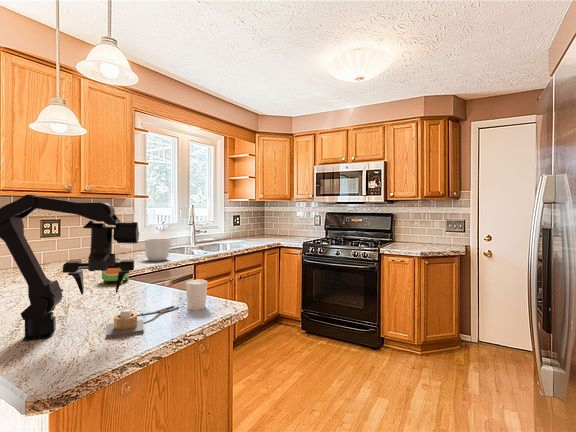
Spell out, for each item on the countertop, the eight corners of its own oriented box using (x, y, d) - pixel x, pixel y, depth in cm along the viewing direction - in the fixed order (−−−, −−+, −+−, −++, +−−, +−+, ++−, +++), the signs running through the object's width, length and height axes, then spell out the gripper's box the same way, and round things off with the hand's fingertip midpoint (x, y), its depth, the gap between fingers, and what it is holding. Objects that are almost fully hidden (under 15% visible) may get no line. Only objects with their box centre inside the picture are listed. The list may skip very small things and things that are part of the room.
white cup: (198, 311, 119) (199, 284, 119) (181, 309, 122) (181, 283, 121) (211, 305, 126) (211, 280, 126) (194, 303, 129) (194, 278, 129)
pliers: (118, 320, 107) (159, 303, 126) (118, 323, 107) (159, 306, 126) (142, 324, 104) (180, 306, 123) (142, 326, 104) (180, 308, 123)
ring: (113, 332, 96) (113, 320, 96) (114, 324, 102) (114, 314, 101) (137, 328, 99) (137, 317, 98) (137, 322, 104) (137, 311, 104)
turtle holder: (133, 276, 177) (133, 255, 177) (125, 284, 160) (125, 260, 159) (108, 277, 174) (108, 256, 174) (97, 285, 156) (97, 261, 156)
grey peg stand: (106, 338, 93) (106, 318, 93) (108, 326, 103) (108, 308, 102) (143, 333, 98) (143, 313, 98) (143, 322, 107) (143, 304, 107)
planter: (174, 260, 233) (174, 239, 233) (150, 263, 221) (150, 241, 221) (163, 258, 245) (163, 238, 245) (140, 260, 233) (140, 239, 233)
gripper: (59, 246, 88) (57, 302, 88) (134, 245, 96) (132, 297, 96) (67, 242, 98) (65, 292, 98) (135, 242, 106) (133, 289, 106)
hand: (99, 293), depth 99 cm, fingers open, 9 cm apart
